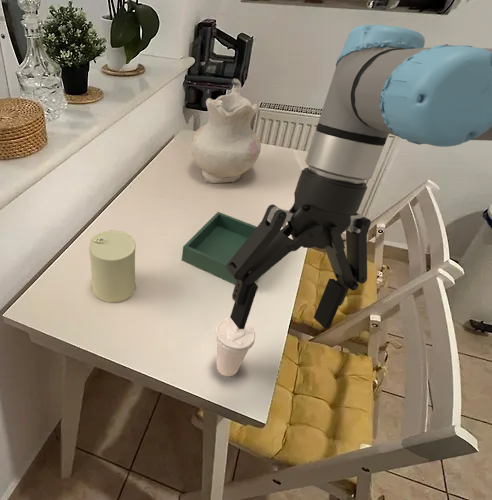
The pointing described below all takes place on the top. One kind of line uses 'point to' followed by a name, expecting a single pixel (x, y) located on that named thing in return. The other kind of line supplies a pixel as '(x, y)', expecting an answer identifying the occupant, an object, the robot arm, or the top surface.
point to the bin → (217, 245)
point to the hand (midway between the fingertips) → (280, 323)
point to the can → (112, 265)
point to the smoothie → (232, 345)
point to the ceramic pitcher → (226, 138)
